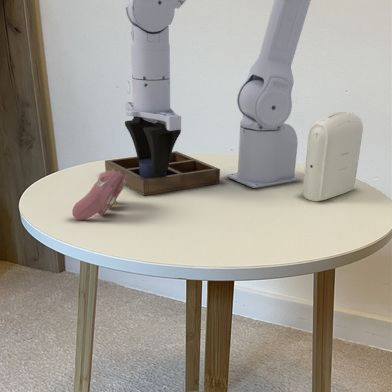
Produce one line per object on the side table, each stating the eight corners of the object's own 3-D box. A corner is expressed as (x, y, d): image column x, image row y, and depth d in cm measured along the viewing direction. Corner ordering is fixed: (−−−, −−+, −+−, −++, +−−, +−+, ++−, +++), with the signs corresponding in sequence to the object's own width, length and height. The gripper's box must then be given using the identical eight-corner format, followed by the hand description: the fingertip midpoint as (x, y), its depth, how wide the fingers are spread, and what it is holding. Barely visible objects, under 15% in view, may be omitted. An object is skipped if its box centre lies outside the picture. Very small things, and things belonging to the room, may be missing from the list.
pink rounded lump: (97, 233, 84) (115, 190, 80) (68, 216, 84) (85, 173, 80) (118, 211, 92) (136, 171, 89) (92, 196, 92) (109, 155, 88)
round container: (158, 172, 101) (158, 157, 99) (171, 179, 98) (171, 162, 96) (134, 176, 99) (134, 160, 97) (147, 182, 96) (147, 166, 94)
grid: (176, 164, 111) (176, 151, 110) (219, 183, 101) (220, 168, 100) (105, 174, 105) (104, 160, 104) (144, 195, 94) (143, 180, 93)
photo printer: (319, 203, 92) (330, 119, 86) (297, 197, 95) (306, 114, 88) (357, 191, 98) (370, 111, 92) (336, 185, 101) (346, 107, 94)
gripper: (106, 73, 94) (111, 162, 101) (150, 85, 83) (152, 183, 90) (146, 71, 97) (148, 157, 104) (193, 82, 87) (192, 177, 94)
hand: (153, 168), depth 97 cm, fingers closed on round container, 4 cm apart
